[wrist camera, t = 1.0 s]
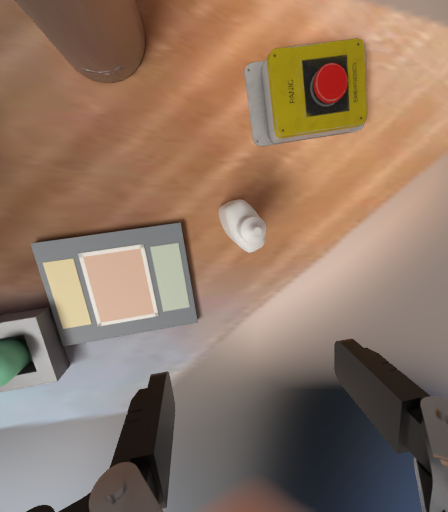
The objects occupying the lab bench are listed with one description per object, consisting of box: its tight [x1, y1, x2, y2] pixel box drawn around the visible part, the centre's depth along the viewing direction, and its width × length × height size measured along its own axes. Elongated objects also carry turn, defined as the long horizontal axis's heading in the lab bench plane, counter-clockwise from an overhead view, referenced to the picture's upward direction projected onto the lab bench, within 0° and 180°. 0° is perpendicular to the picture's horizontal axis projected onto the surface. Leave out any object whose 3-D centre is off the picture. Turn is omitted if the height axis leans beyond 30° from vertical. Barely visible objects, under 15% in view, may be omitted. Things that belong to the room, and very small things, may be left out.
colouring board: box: [31, 222, 198, 346], centre depth 31 cm, size 14×18×1 cm
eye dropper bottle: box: [219, 199, 266, 252], centre depth 25 cm, size 4×6×12 cm
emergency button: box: [244, 38, 367, 146], centre depth 27 cm, size 9×4×15 cm
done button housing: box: [0, 307, 70, 392], centre depth 30 cm, size 9×9×3 cm
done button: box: [0, 338, 32, 386], centre depth 27 cm, size 4×4×3 cm
